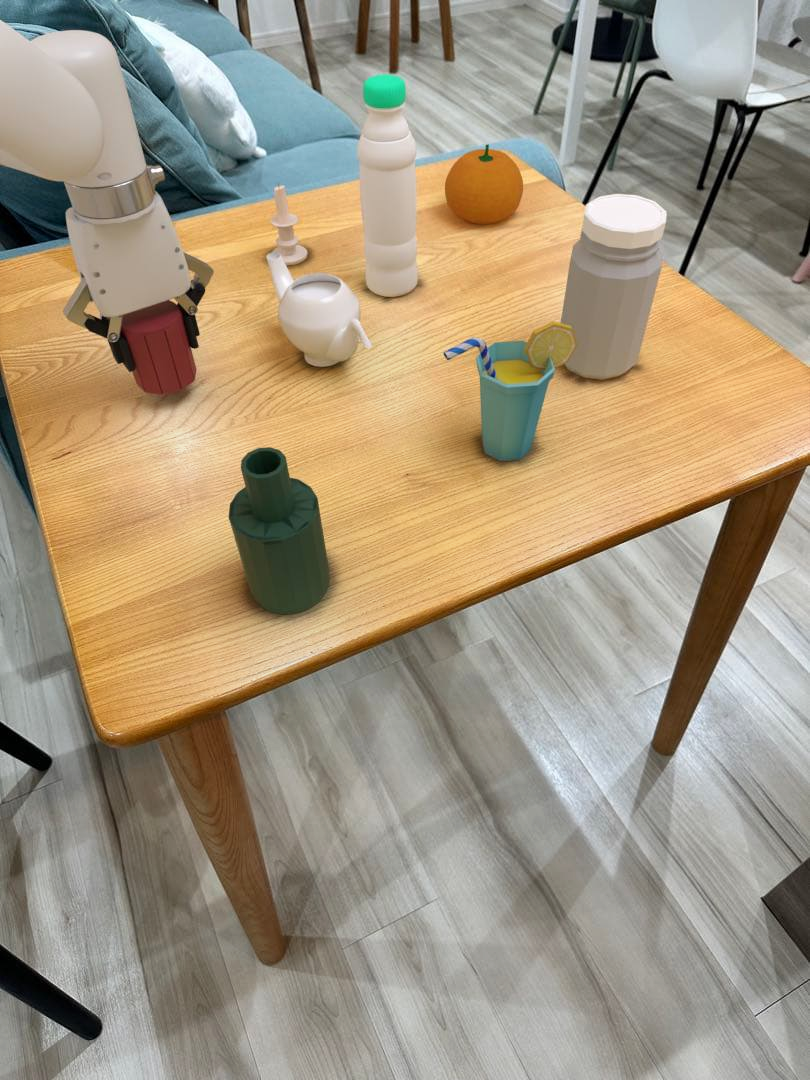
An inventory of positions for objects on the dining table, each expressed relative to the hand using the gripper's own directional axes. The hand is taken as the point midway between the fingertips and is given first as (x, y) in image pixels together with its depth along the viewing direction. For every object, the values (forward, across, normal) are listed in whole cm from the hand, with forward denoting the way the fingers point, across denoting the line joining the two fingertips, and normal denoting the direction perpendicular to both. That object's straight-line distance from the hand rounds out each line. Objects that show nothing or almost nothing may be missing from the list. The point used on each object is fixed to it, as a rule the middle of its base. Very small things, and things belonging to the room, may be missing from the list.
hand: (159, 353), depth 83 cm
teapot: (+5, -18, +4) cm, 19 cm away
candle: (+5, -26, -19) cm, 33 cm away
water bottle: (+5, -34, -4) cm, 35 cm away
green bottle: (+6, +2, +33) cm, 33 cm away
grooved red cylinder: (+3, 0, 0) cm, 3 cm away
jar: (+5, -44, +24) cm, 51 cm away
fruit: (+5, -57, -13) cm, 58 cm away
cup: (+5, -25, +30) cm, 39 cm away
